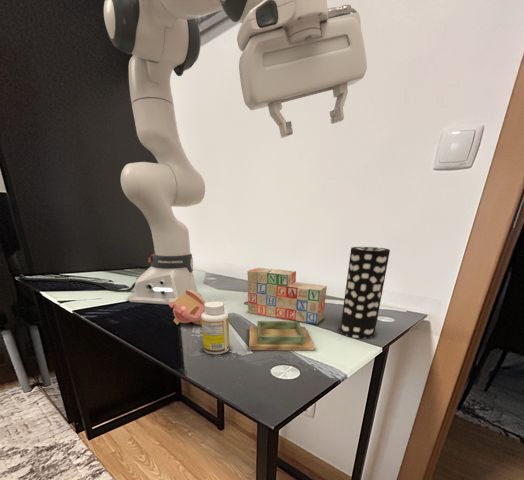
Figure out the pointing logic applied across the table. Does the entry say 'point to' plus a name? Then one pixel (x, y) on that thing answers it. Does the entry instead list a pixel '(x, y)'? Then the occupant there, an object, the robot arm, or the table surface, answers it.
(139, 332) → the table surface
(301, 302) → the stack of blocks
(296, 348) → the wooden board green frame
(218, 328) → the supplement bottle
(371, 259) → the spotted tube
